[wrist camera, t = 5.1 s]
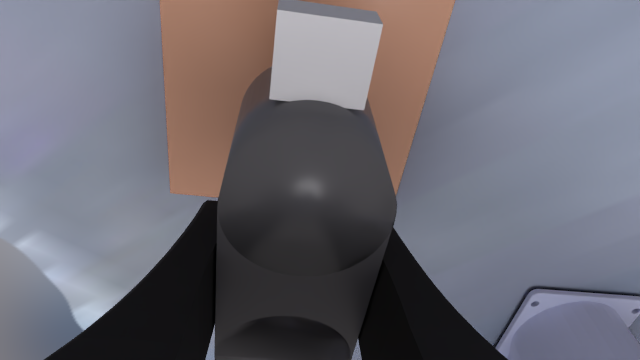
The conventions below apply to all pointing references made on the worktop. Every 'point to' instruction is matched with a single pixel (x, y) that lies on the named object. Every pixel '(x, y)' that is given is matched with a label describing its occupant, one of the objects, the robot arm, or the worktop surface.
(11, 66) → the worktop surface
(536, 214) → the worktop surface
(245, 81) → the terracotta trivet
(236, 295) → the charger plug
